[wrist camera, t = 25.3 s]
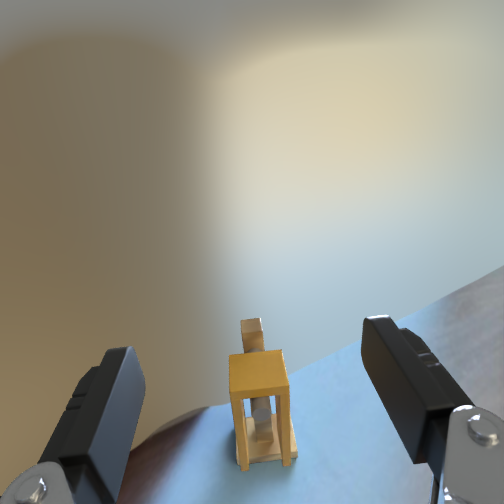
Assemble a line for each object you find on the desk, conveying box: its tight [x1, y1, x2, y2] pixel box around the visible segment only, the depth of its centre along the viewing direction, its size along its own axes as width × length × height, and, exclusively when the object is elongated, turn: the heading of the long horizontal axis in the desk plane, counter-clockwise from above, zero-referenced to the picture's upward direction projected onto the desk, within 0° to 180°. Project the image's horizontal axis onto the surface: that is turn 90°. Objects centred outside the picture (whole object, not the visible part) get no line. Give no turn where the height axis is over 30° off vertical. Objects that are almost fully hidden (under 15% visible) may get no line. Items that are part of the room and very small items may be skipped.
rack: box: [236, 318, 298, 465], centre depth 32 cm, size 7×10×18 cm
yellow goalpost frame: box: [229, 350, 291, 471], centre depth 29 cm, size 5×4×11 cm
